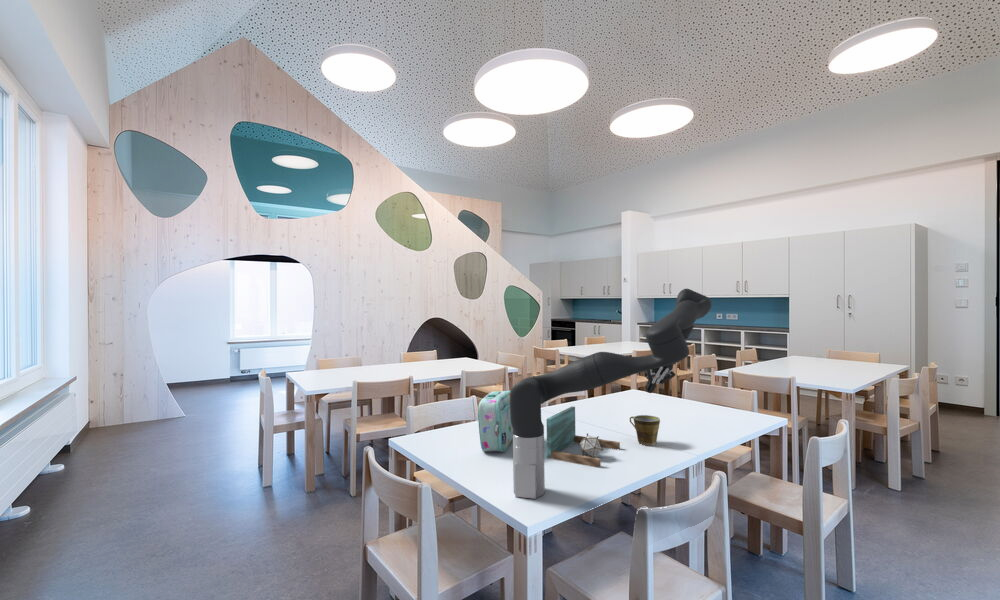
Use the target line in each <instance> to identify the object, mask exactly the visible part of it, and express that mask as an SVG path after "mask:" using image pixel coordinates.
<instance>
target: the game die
mask: <svg viewBox="0 0 1000 600" xmlns="http://www.w3.org/2000/svg"><path fill="white" fill-rule="evenodd" d="M584 437H585V438H584V439H583V440H582V441H581V442H580V443H579V442H577V443H576V444H579V447H580V450H581V452H582V456H588V457H593V458H596V456H597V455H598V454H600V452H602V451H605V449H603V447H601V446H600V443H599V440H598V439H599V438H600V437H599V435H598V436H597V437H596V436H592V435H589V433H588V432H587V433H586V436H584Z"/></svg>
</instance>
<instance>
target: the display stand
mask: <svg viewBox="0 0 1000 600" xmlns="http://www.w3.org/2000/svg"><path fill="white" fill-rule="evenodd" d="M585 437H586V436H582V435H576V406H570V407H568V408H565V409H564V410H561V411H560V412H558V413H556V414H553V415H552V416H550V417H547V418H546V458H547V459H550V460H551V459H552V460H557V461H562V462H569V463H573V464H578V465H584V466H588V465H589V467H595V468H601V466H602V465H601V464H602V463H601V462H602V461H601V459H602V458H598V457H594V458H593V457H589V456H586V455H584V456H582V455H583V454H582V455H581V454H577V453H570V452H564V450H566V449H567V448H569V447H570V446H572V445H573V444H574V443H575V444H578V443H577V442H579V443H580V442H581V441H582V440H583V439H584V438H585ZM598 440H599V443H600V446H601V448H605V449H611V448H612V449H613V450H617V449H619V450H620V448H621V447H620V446H621V443H620V441H615V440H609V439H602V438H598ZM565 448H566V449H565ZM562 450H563V451H562Z"/></svg>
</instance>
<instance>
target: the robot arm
mask: <svg viewBox="0 0 1000 600" xmlns="http://www.w3.org/2000/svg"><path fill="white" fill-rule="evenodd" d="M711 309H712V301H711V299H710V297H708V296H706V295H705V294H701V293H700V292H697V291H694V290H692V289H689V288H683V289H681V291H680V292H678V294H677V296H676V301H675V306H674V308H673V310H672V311H671V312H669V313H667V314H666V315H665V316H663V317H661V319H659V320H657V321H656V322H655V323H653V324H651V325H650V326H649V328H647V329H646V332H645V338H646V339H645V340H646V341H647V344H648V347H649V349H650V351H651V354H647V355H642V356H629V355H623V354H620V353H614V352H610V351H598V352H595V353H592V354H588V355H587V356H583V357H581V358H579V359H577V360H574V361H572V362H570V363H568V364H566V365H564V366H562V367H560V368H558V369H556V370H553V371H551V372H547V373H543V374H539V375H535V376H530V377H525V378H523V379H521V380H519V381H518V382H516V383H515V384H514V385H513V387H512V388H511V390H510V391H511V393H510V418H511V425H512V428H513V438H512V465H513V467H512V471H513V472H512V474H513V477H512V478H513V479H512V480H513V493H514V494H515V495H514V496H515V497H516V498H523V499H524V498H525V499H533V500H537V499H538V498H540V497H542V496H543V495H545V492H546V490H545V487H546V485H545V484H546V483H545V481H546V479H545V478H546V477H545V425H544V423H543V422H542V405H543V404H544V403H546V402H548V401H550V400H552V399H555V398H556V397H557V398H558V397H559V396H563V395H565V394H572V393H579V392H585V391H589V390H594V389H597V388H599V387H602V386H605V385H608V384H611V383H613V382H616V381H619V380H621V379H624V378H627V377H630V376H632V375H636V374H640V373H643V375H644V377H645V378H646V379H647V382H646V384H645V386H644V391H645V392H646V393H647V394H652V393H653V392H654V391H655V389H656V387H657V385H659V384H660V385H664V384H665V383H666V382H667V381H670V380H672V379H673V378H674V377H675V376H676V375H677V374H676V373H675V372H674V371H673V368H674V366H675V365H676V364H677V363H679V362H681V361H683V360H684V359H686V358H688V356H689V355H690V349H689V346H688V344H687V341H688V339H689V338H690V335H691V334H692V331H693V330H694V326H695V325H694V324H695V322H696V321H697V320H700V319H701V318H704V317H705V316H706V315H707V314H708V313H709V312H710V310H711Z"/></svg>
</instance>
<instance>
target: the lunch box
mask: <svg viewBox="0 0 1000 600" xmlns="http://www.w3.org/2000/svg"><path fill="white" fill-rule="evenodd" d="M510 393H511V390H502V391H501V390H500V391H499V390H497V391H493V390H492V391H491V392H489V393H488V394H486V395H485V396H484V397H483V398H482V399H481V400H480V401H479V403H478V408H477V414H478V415H477V419H478V431H479V432H478V433H479V441H480V442H479V443H480V449H481V450H482V452H501V453H503V452H505V451H506V450H507V449H508V447H509V446H510V444H511V443H512V441H513V428H512V425H511V418H510Z"/></svg>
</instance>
